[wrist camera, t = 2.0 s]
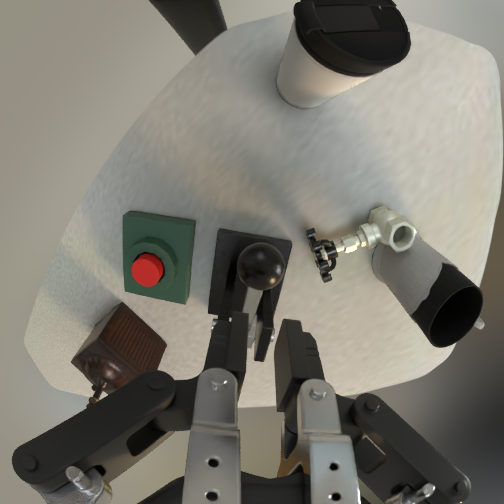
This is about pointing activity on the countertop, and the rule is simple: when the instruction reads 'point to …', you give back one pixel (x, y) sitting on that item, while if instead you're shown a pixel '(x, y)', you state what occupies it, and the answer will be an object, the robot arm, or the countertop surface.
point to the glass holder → (430, 290)
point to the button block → (159, 253)
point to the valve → (364, 238)
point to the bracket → (243, 285)
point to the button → (147, 269)
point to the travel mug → (339, 48)
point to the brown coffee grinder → (118, 351)
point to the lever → (258, 278)
